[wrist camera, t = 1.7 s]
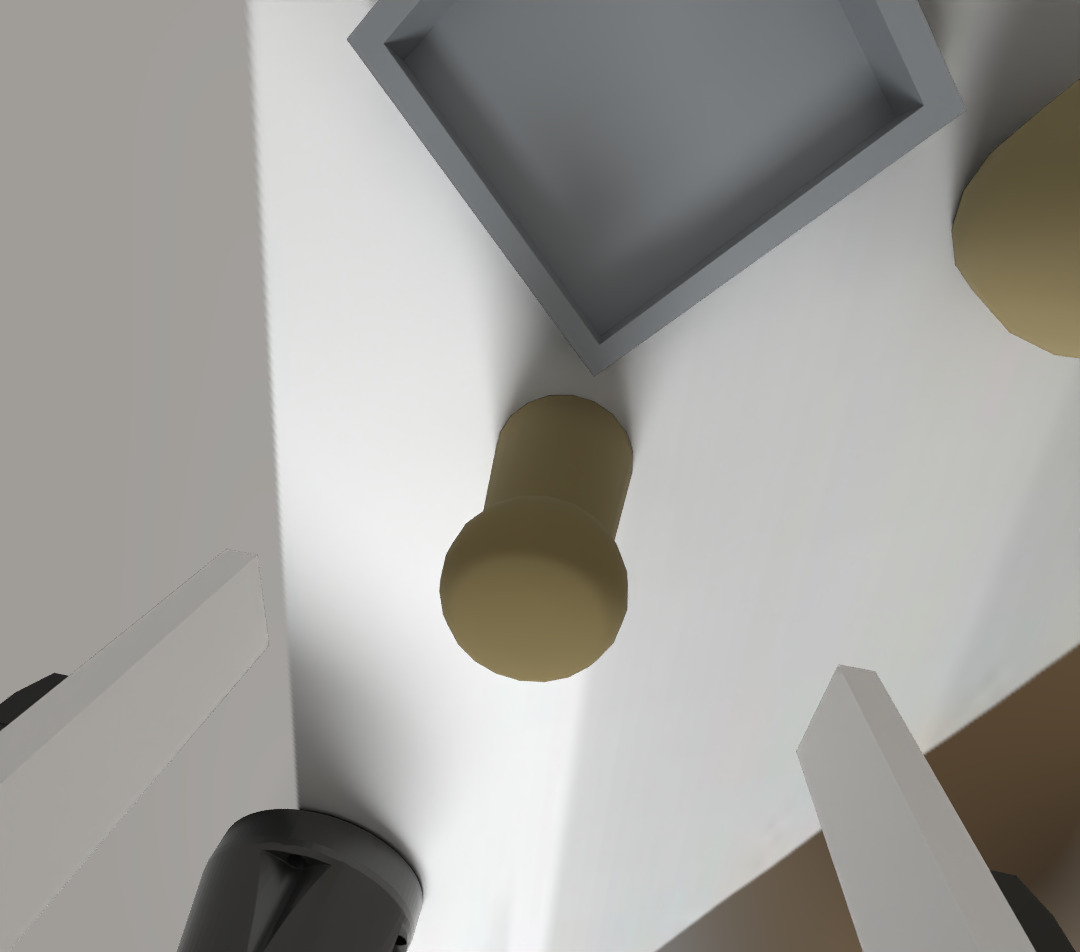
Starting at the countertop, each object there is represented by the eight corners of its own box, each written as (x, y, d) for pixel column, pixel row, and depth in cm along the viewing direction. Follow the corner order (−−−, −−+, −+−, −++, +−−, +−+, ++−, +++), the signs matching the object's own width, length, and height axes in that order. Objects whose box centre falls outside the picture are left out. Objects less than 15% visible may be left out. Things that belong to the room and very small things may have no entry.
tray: (596, 361, 21) (594, 376, 19) (380, 63, 18) (347, 39, 16) (919, 127, 17) (966, 110, 15) (709, -318, 14) (728, -426, 12)
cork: (480, 407, 23) (375, 539, 13) (621, 382, 22) (628, 507, 12) (512, 530, 25) (444, 723, 15) (642, 513, 24) (662, 712, 14)
